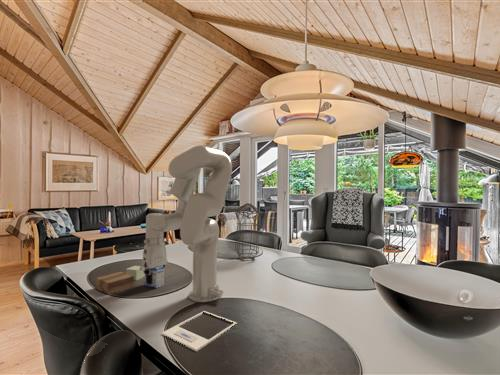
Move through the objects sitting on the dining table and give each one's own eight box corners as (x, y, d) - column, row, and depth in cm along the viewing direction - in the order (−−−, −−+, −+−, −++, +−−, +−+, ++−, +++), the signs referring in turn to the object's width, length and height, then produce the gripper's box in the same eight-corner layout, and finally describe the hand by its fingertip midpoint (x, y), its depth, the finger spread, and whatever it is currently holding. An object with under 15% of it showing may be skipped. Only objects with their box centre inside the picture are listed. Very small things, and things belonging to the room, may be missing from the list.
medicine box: (143, 285, 121) (144, 266, 121) (151, 282, 125) (151, 263, 125) (156, 288, 117) (156, 268, 117) (164, 285, 121) (164, 266, 121)
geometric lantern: (231, 256, 174) (233, 202, 175) (254, 255, 179) (256, 202, 179) (237, 262, 159) (239, 203, 160) (262, 261, 163) (264, 203, 164)
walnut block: (133, 287, 119) (133, 276, 119) (108, 295, 110) (108, 283, 110) (120, 282, 125) (120, 271, 125) (95, 289, 117) (95, 277, 117)
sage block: (144, 276, 133) (145, 266, 133) (136, 280, 127) (136, 270, 127) (134, 275, 135) (134, 265, 135) (125, 279, 129) (126, 268, 129)
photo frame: (161, 332, 81) (204, 310, 95) (161, 335, 81) (204, 313, 95) (196, 348, 72) (237, 322, 87) (196, 353, 72) (237, 325, 87)
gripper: (143, 245, 112) (143, 289, 112) (174, 238, 126) (174, 277, 126) (132, 243, 116) (131, 285, 116) (163, 237, 130) (163, 275, 130)
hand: (154, 281), depth 121 cm, fingers closed on medicine box, 4 cm apart
